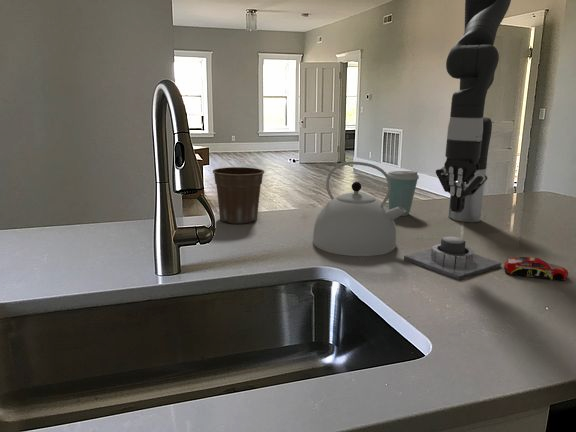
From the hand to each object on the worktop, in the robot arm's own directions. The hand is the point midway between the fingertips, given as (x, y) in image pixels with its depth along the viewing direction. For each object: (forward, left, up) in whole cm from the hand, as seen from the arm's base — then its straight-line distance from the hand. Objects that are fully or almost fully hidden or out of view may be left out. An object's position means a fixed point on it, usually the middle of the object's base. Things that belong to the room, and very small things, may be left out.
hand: (456, 211), depth 111 cm
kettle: (-24, -8, -13) cm, 29 cm away
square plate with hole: (0, 0, -13) cm, 13 cm away
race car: (+15, +10, -14) cm, 23 cm away
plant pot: (-64, -24, -13) cm, 70 cm away
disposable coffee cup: (-42, +27, -13) cm, 52 cm away
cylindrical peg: (0, 0, -12) cm, 12 cm away
